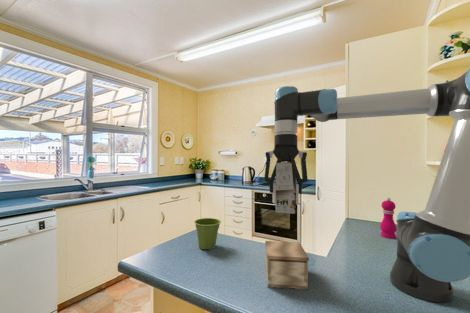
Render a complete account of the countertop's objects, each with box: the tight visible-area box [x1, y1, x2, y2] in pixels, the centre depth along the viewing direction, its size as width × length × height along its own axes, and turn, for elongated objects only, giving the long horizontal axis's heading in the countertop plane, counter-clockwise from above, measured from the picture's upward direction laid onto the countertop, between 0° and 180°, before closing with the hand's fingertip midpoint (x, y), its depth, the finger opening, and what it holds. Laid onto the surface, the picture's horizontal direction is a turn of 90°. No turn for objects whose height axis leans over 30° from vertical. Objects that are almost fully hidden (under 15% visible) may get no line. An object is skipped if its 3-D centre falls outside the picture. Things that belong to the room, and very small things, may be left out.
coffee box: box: [275, 162, 297, 215], centre depth 77 cm, size 9×6×16 cm
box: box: [265, 252, 309, 290], centre depth 77 cm, size 12×14×8 cm
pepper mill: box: [379, 197, 397, 239], centre depth 117 cm, size 7×7×20 cm
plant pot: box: [193, 217, 222, 250], centre depth 101 cm, size 12×12×11 cm
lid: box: [264, 240, 310, 262], centre depth 77 cm, size 12×14×1 cm
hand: (285, 202), depth 77 cm, fingers closed on coffee box, 7 cm apart
